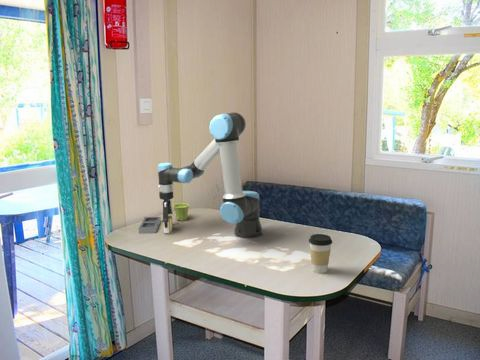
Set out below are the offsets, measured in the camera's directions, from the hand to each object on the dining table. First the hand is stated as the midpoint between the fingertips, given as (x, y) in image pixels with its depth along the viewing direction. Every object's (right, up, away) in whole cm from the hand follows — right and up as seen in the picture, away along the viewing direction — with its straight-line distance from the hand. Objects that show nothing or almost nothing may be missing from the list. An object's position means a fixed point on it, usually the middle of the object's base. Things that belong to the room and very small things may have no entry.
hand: (168, 229), depth 252 cm
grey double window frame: (-11, +1, +4) cm, 11 cm away
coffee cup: (+74, -12, -56) cm, 94 cm away
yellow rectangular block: (0, 0, 0) cm, 0 cm away
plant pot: (+5, +4, +18) cm, 19 cm away
